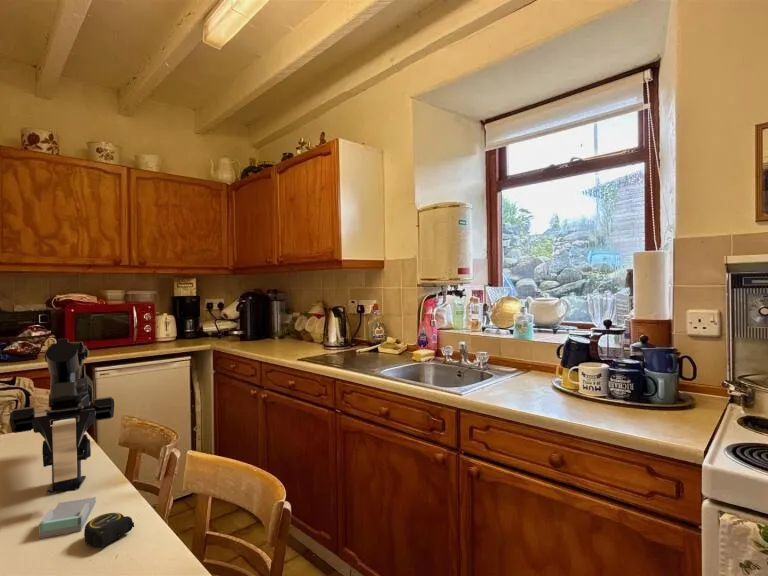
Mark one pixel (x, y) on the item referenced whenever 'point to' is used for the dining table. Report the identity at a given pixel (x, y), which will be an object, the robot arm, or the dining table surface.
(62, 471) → the beech post
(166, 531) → the dining table surface
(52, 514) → the grey shallow tray
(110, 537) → the tape measure
